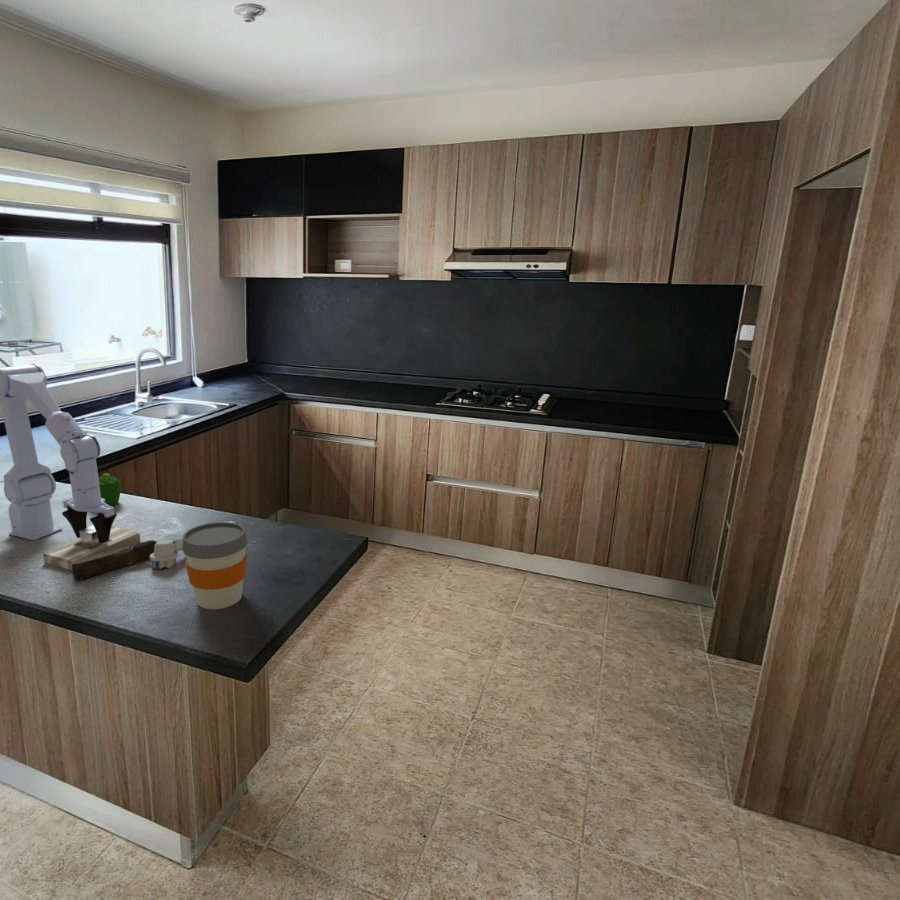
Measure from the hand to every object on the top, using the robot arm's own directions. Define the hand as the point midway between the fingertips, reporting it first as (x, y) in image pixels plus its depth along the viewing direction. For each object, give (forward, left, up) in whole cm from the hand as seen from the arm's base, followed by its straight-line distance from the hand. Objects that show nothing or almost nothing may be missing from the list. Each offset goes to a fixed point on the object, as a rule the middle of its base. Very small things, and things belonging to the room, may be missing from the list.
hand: (92, 539), depth 145 cm
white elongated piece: (+21, +11, -4) cm, 24 cm away
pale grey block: (0, 0, -3) cm, 4 cm away
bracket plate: (0, 0, -3) cm, 3 cm away
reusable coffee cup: (+43, -5, -4) cm, 43 cm away
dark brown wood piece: (+12, -3, -4) cm, 13 cm away
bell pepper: (-25, +24, -4) cm, 35 cm away
